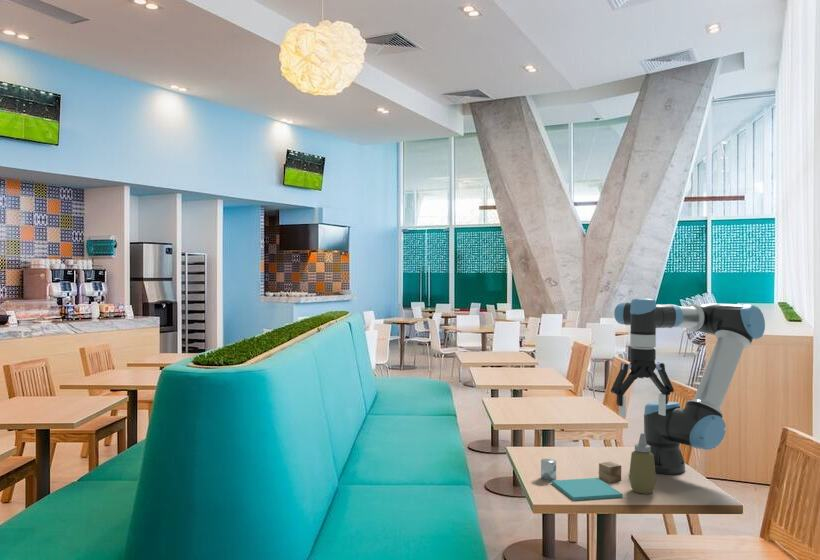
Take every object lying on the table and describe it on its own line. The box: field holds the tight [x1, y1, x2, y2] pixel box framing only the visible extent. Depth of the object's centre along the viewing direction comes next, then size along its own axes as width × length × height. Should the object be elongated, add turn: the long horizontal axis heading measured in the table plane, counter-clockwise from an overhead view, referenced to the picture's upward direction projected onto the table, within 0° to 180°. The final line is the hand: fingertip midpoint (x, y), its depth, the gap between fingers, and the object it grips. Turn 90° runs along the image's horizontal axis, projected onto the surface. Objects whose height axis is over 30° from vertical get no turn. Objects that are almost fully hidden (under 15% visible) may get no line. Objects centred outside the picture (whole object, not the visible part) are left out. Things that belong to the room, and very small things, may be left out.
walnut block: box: [598, 460, 622, 483], centre depth 212 cm, size 5×5×5 cm
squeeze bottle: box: [628, 433, 657, 494], centre depth 200 cm, size 8×8×18 cm
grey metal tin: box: [540, 458, 557, 482], centre depth 213 cm, size 5×5×6 cm
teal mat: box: [551, 477, 623, 501], centre depth 201 cm, size 16×16×1 cm
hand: (642, 415), depth 200 cm, fingers open, 13 cm apart
